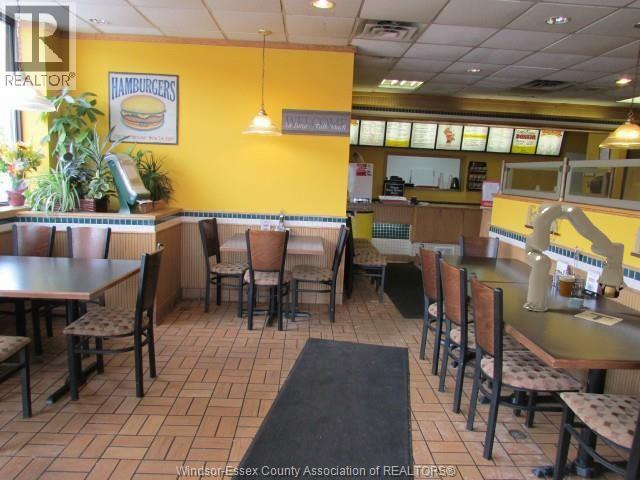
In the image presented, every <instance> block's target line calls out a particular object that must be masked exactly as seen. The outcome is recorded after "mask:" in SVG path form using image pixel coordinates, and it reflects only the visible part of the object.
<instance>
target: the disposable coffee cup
mask: <svg viewBox="0 0 640 480" xmlns="http://www.w3.org/2000/svg"><path fill="white" fill-rule="evenodd" d="M558 280H559V284H558V285H559V287H558V289H559V296H561V297H565V298H569V297H571V296H572V292H573V289H574V286H575V282H576V277H574V276H570V275H559V277H558Z"/></svg>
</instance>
